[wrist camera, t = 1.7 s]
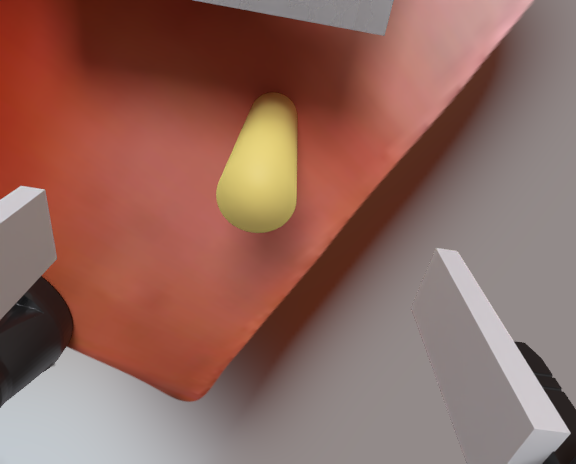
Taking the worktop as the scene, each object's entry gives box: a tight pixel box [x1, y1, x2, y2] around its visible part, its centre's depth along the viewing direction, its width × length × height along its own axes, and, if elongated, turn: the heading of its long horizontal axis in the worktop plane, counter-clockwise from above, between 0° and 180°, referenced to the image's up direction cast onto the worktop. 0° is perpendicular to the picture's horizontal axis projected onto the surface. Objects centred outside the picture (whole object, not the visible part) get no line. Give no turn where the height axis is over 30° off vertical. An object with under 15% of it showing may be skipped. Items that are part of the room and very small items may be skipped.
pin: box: [216, 92, 297, 233], centre depth 24 cm, size 4×4×14 cm
